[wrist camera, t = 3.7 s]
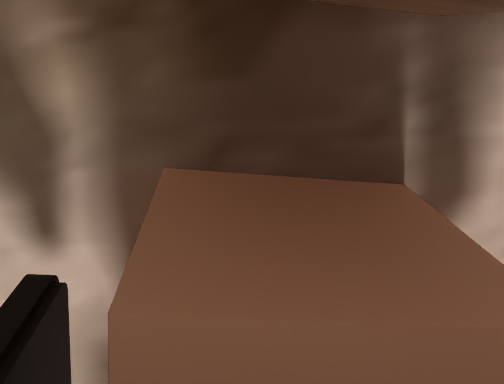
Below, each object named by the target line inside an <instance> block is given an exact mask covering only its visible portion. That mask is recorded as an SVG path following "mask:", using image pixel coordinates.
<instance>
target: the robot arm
mask: <svg viewBox="0 0 504 384" xmlns="http://www.w3.org/2000/svg"><path fill="white" fill-rule="evenodd" d="M0 384H71V362H70V336H69V309H68V288H67V284H66V283H60V282H59V280H58V277H57V276H56V275H37V274H27V275H26V276H25V277H24V278H23V279H22V280H21V282H20V283H19V284H18V286H17V287H16V288H15V289H14V291H13V292H12V293H11V294H10V296H9V297H8V298H7V300H6V301H5V302H4V303H3V305H2V306H1V307H0Z"/></svg>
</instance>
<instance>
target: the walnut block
mask: <svg viewBox="0 0 504 384" xmlns="http://www.w3.org/2000/svg"><path fill="white" fill-rule="evenodd" d="M306 1H315V2H324V3H333V4H342V5H351V6H360V7H369V8H378V9H387V10H395V11H404V12H413V13H422V14H431V15H440V16H444V15H457V14H469V13H482V12H494V11H504V0H306Z"/></svg>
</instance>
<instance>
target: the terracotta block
mask: <svg viewBox="0 0 504 384" xmlns="http://www.w3.org/2000/svg"><path fill="white" fill-rule="evenodd" d="M108 356H109V384H504V265H503V264H502V263H501V262H499V261H498V260H497V259H496V258H495V257H493V256H492V255H491V254H490V253H488V252H487V251H486V250H485V249H483V248H482V247H481V246H480V245H478V244H477V243H476V242H475V241H474V240H472V239H471V238H470V237H469V236H467V235H466V234H465V233H464V232H462V231H461V230H460V229H459V228H457V227H456V226H455V225H454V224H453V223H451V222H450V221H449V220H448V219H446V218H445V217H444V216H443V215H441V214H440V213H439V212H438V211H436V210H435V209H434V208H433V207H432V206H430V205H429V204H428V203H427V202H425V201H424V200H423V199H422V198H420V197H419V196H418V195H417V194H415V193H414V192H413V191H412V190H411V189H409V188H408V187H407V186H406V185H403V184H389V183H375V182H360V181H346V180H332V179H317V178H303V177H289V176H274V175H260V174H246V173H231V172H217V171H203V170H188V169H174V168H164V169H163V172H162V174H161V177H160V180H159V182H158V185H157V187H156V190H155V193H154V195H153V198H152V200H151V203H150V206H149V208H148V211H147V213H146V216H145V219H144V221H143V224H142V226H141V229H140V232H139V234H138V237H137V239H136V242H135V245H134V247H133V250H132V252H131V255H130V258H129V260H128V263H127V265H126V268H125V270H124V273H123V276H122V278H121V281H120V283H119V286H118V289H117V291H116V294H115V296H114V299H113V302H112V304H111V307H110V309H109V312H108Z"/></svg>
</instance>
